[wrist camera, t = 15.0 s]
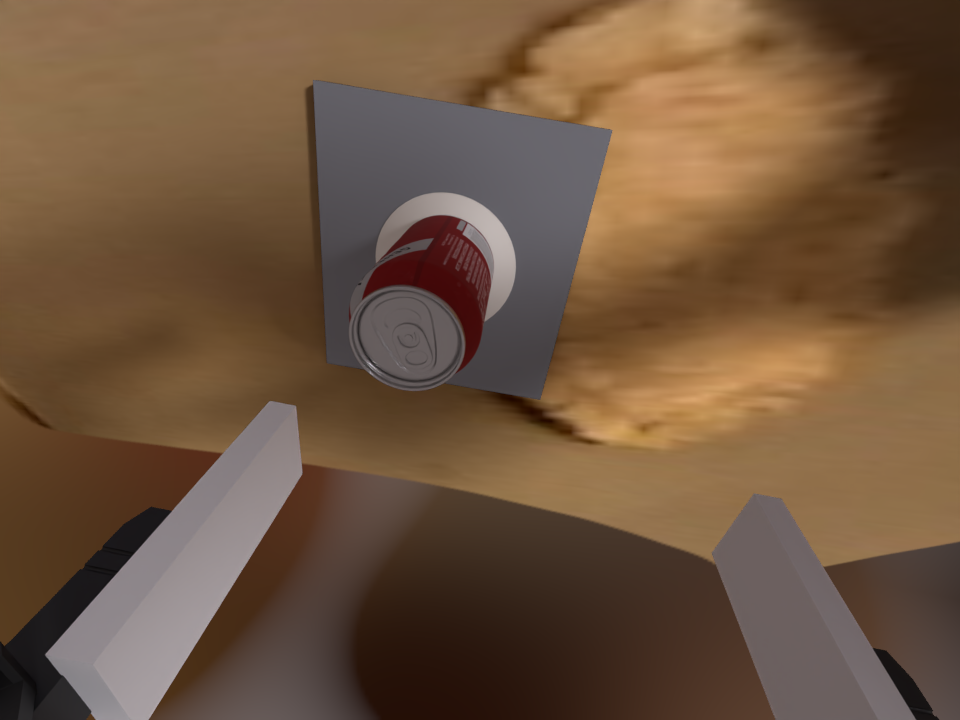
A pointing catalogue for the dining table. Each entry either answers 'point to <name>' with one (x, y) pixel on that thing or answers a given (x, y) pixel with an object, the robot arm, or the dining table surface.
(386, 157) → the board
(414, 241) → the soda can
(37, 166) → the dining table surface
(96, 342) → the dining table surface
